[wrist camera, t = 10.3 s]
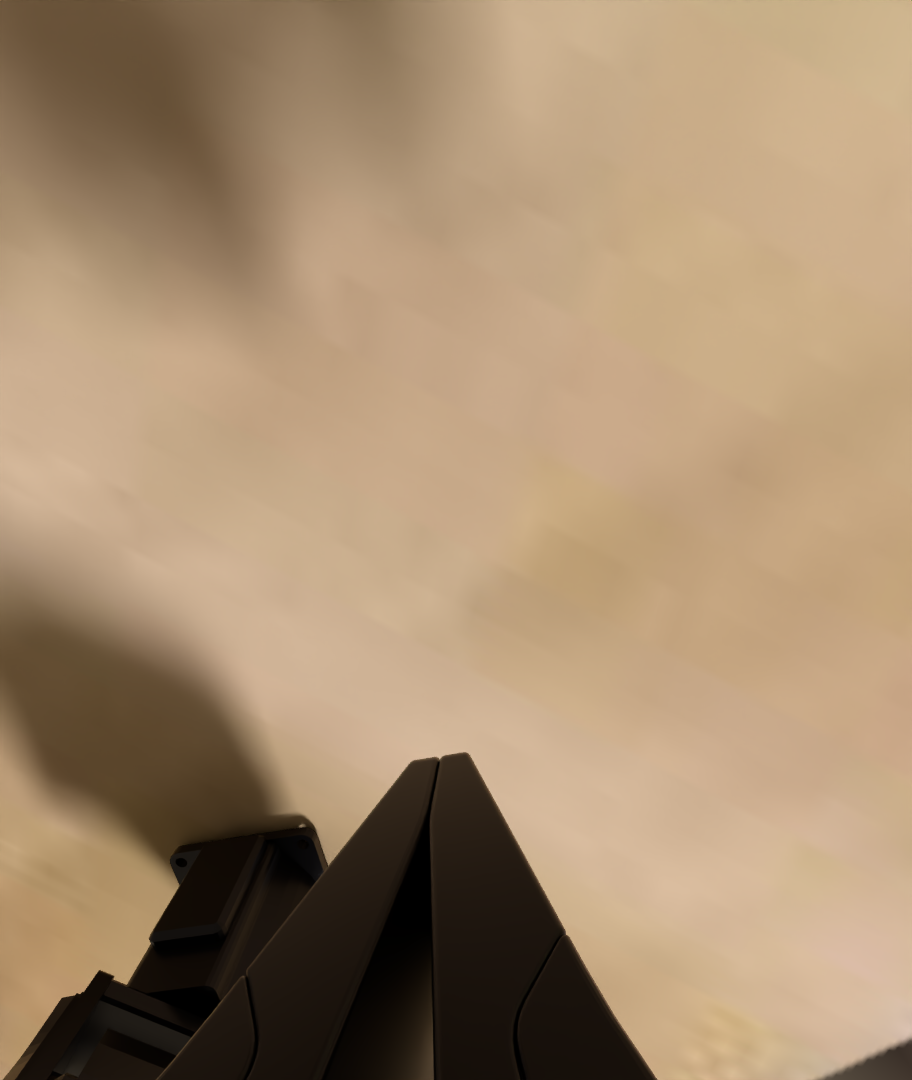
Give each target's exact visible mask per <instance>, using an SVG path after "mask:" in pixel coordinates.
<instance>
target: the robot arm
mask: <svg viewBox="0 0 912 1080" xmlns="http://www.w3.org/2000/svg"><path fill="white" fill-rule="evenodd" d="M302 840H306V841H307V842H305V841H302ZM170 864H171V866H172V869H173V871H174V873H175V876H176V878H177V880H178V883H179V885H180V886H179V888H178V889H177V891H176V893H175V894H174V896H173V898H172V899H171V901H170V903H169V904H168V906H167V908H166V909H165V911H164V913H163V914H162V916H161V918H160V919H159V921H158V923H157V924H156V926H155V928H154V929H153V931H152V933H151V934H150V937H149V940H150V942H151V945H150V946H149V948H148V950H147V951H146V953H145V955H144V957H143V958H142V960H141V962H140V963H139V965H138V967H137V968H136V970H135V972H134V974H133V975H132V977H131V979H130V980H129V982H128V984H127V985H125V984H123V983H120V982H118V981H115V980H113V978H114V976H113V975H111V974H108V973H106V972H103V971H101V970H99V971H98V973H97V974H96V976H95V977H94V978H93V980H92V981H91V983H90V984H89V986H88V987H87V988H86V990H85V991H84V992H82V993H81V994H78V993H77V994H76V995H74V996H69V997H64V998H62V999H61V1000H60V1001H59V1003H58V1004H57V1006H56V1007H55V1009H54V1010H53V1012H52V1013H51V1015H50V1016H49V1018H48V1019H47V1021H46V1022H45V1023H44V1025H43V1026H42V1028H41V1029H40V1031H39V1032H38V1034H37V1035H36V1037H35V1038H34V1039H33V1041H32V1042H31V1044H30V1045H29V1047H28V1048H27V1049H26V1051H25V1052H24V1053H23V1055H22V1056H21V1058H20V1059H19V1060H18V1061H17V1063H16V1064H15V1065H14V1067H13V1068H12V1069H11V1070H10V1072H9V1073H8V1074H7V1075H6V1076H5V1078H4V1079H3V1080H657V1078H656V1077H655V1076H654V1074H653V1073H652V1071H651V1070H650V1068H649V1067H648V1065H647V1064H646V1062H645V1061H644V1059H643V1058H642V1056H641V1055H640V1053H639V1052H638V1050H637V1049H636V1047H635V1046H634V1044H633V1043H632V1041H631V1040H630V1038H629V1037H628V1035H627V1034H626V1032H625V1031H624V1029H623V1028H622V1026H621V1025H620V1023H619V1022H618V1020H617V1019H616V1017H615V1016H614V1014H613V1012H612V1010H611V1009H610V1007H609V1005H608V1004H607V1002H606V1000H605V999H604V997H603V995H602V994H601V992H600V990H599V988H598V987H597V985H596V983H595V982H594V980H593V978H592V977H591V975H590V973H589V972H588V970H587V968H586V966H585V965H584V963H583V961H582V959H581V957H580V955H579V954H578V952H577V950H576V948H575V946H574V945H573V943H572V941H571V939H570V937H569V936H567V935H566V931H565V929H564V927H563V925H562V923H561V922H560V920H559V918H558V916H557V914H556V912H555V911H554V909H553V907H552V905H551V903H550V901H549V900H548V898H547V896H546V894H545V892H544V890H543V889H542V887H541V885H540V883H539V881H538V879H537V878H536V876H535V874H534V872H533V870H532V868H531V867H530V865H529V863H528V861H527V859H526V857H525V856H524V854H523V852H522V850H521V848H520V846H519V845H518V843H517V841H516V839H515V837H514V835H513V834H512V832H511V830H510V828H509V826H508V824H507V823H506V821H505V819H504V817H503V815H502V813H501V812H500V810H499V808H498V806H497V804H496V802H495V801H494V799H493V797H492V795H491V793H490V791H489V790H488V788H487V786H486V784H485V782H484V780H483V779H482V777H481V775H480V773H479V771H478V769H477V768H476V766H475V764H474V762H473V760H472V758H471V757H470V755H469V754H468V753H466V752H463V753H457V754H451V755H445V756H443V757H442V758H441V759H439V758H437V757H432V758H426V759H419V760H414V761H412V762H411V763H410V764H409V765H408V766H407V767H406V769H405V770H404V771H403V772H402V774H401V775H400V776H399V778H398V779H397V780H396V781H395V783H394V784H393V785H392V786H391V788H390V789H389V790H388V791H387V793H386V794H385V795H384V796H383V798H382V799H381V800H380V802H379V803H378V804H377V805H376V807H375V808H374V809H373V810H372V812H371V813H370V814H369V815H368V817H367V818H366V819H365V820H364V822H363V823H362V824H361V826H360V827H359V828H358V829H357V831H356V832H355V833H354V834H353V836H352V837H351V838H350V839H349V841H348V842H347V843H346V844H345V846H344V847H343V848H342V850H341V851H340V852H339V853H338V855H337V856H336V857H335V858H334V860H333V861H332V862H331V863H330V865H329V866H328V867H327V864H326V861H325V858H324V855H323V852H322V849H321V846H320V843H319V840H318V837H317V835H316V833H315V832H314V831H313V830H312V829H310V828H304V827H302V828H296V829H289V830H282V831H276V832H269V833H263V834H256V835H250V836H243V837H236V838H230V839H223V840H217V841H210V842H203V843H197V844H190V845H184V846H180V847H178V848H177V849H176V850H175V852H174V853H173V855H172V856H171V859H170Z"/></svg>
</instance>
